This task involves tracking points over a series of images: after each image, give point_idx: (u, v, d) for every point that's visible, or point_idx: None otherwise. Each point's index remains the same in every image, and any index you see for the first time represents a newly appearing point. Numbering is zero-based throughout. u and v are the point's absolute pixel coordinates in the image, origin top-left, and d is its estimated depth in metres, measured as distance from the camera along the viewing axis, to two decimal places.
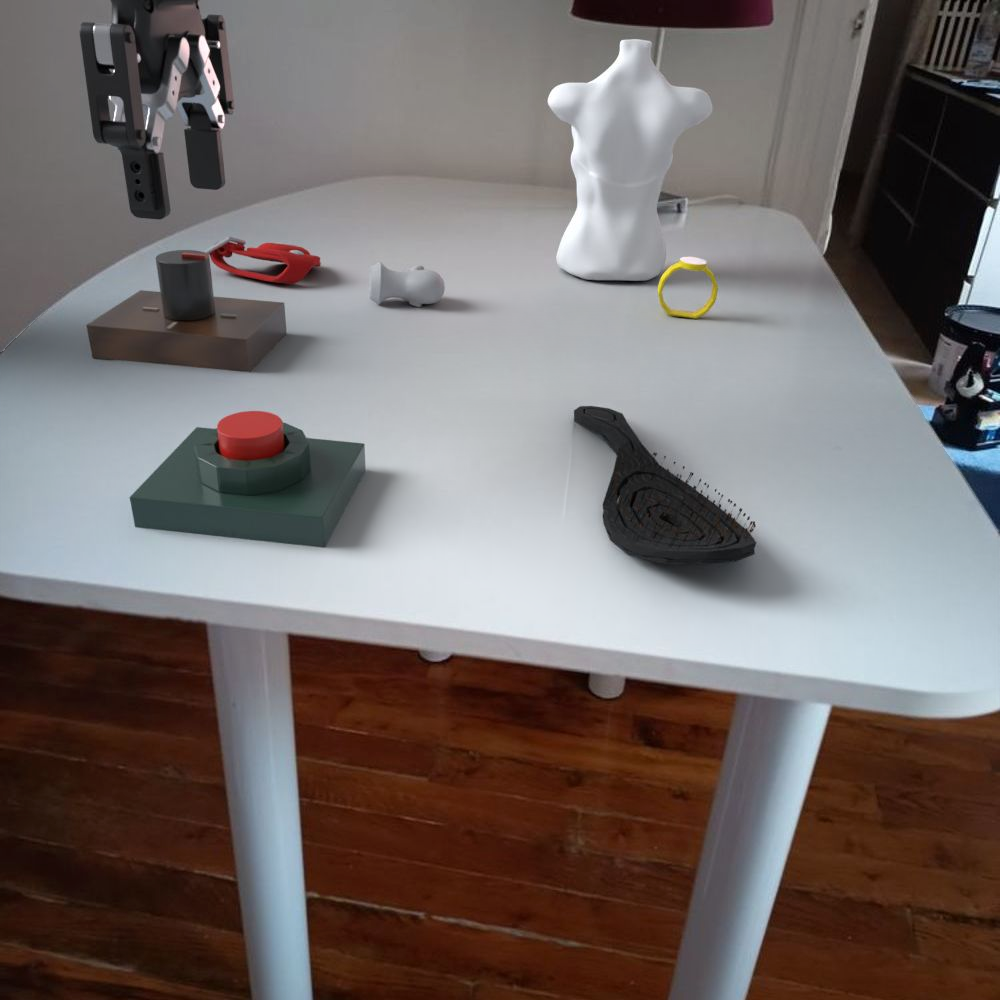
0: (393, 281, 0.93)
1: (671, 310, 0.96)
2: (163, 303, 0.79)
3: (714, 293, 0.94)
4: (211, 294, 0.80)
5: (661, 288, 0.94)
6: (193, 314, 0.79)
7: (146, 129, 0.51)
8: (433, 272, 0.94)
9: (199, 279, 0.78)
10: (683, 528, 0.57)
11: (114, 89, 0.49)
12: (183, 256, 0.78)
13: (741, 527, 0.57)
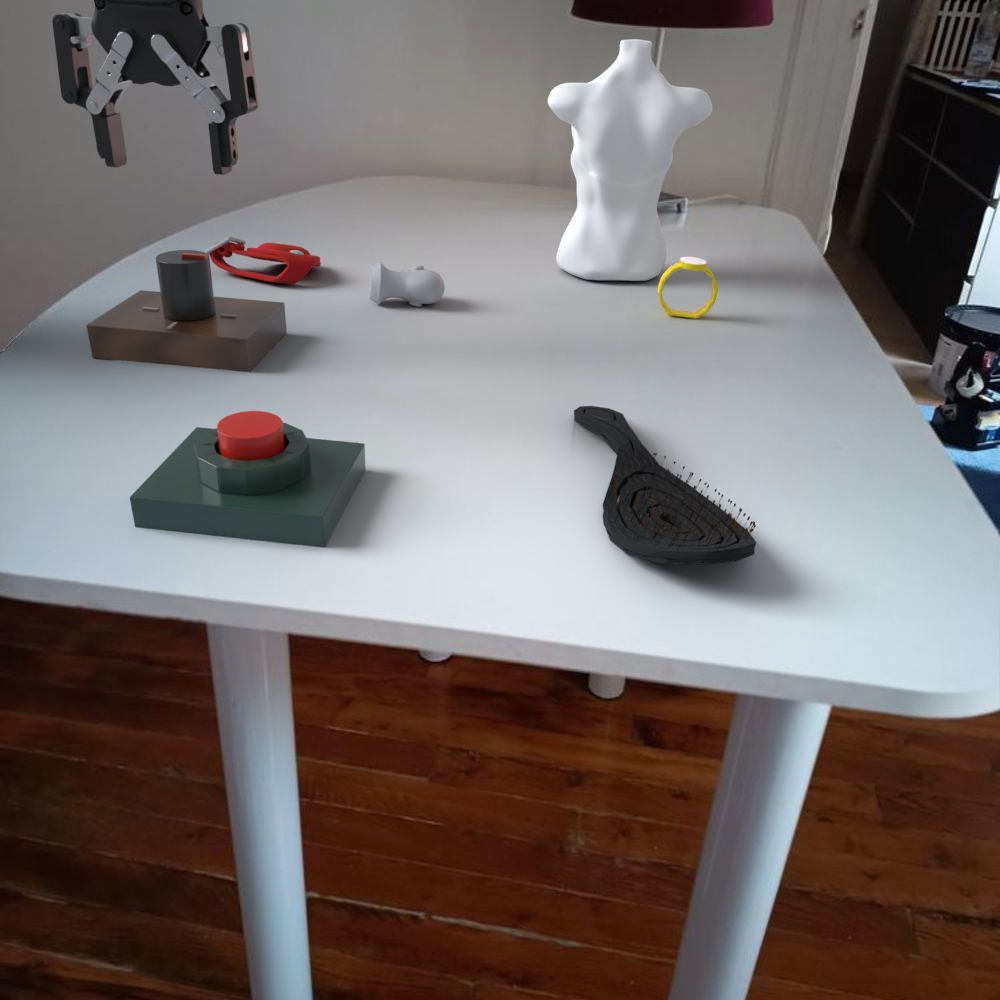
0: (393, 281, 0.93)
1: (671, 310, 0.96)
2: (163, 303, 0.79)
3: (714, 293, 0.94)
4: (211, 294, 0.80)
5: (661, 288, 0.94)
6: (193, 314, 0.79)
7: None
8: (433, 272, 0.94)
9: (199, 279, 0.78)
10: (683, 528, 0.57)
11: None
12: (183, 256, 0.78)
13: (741, 527, 0.57)
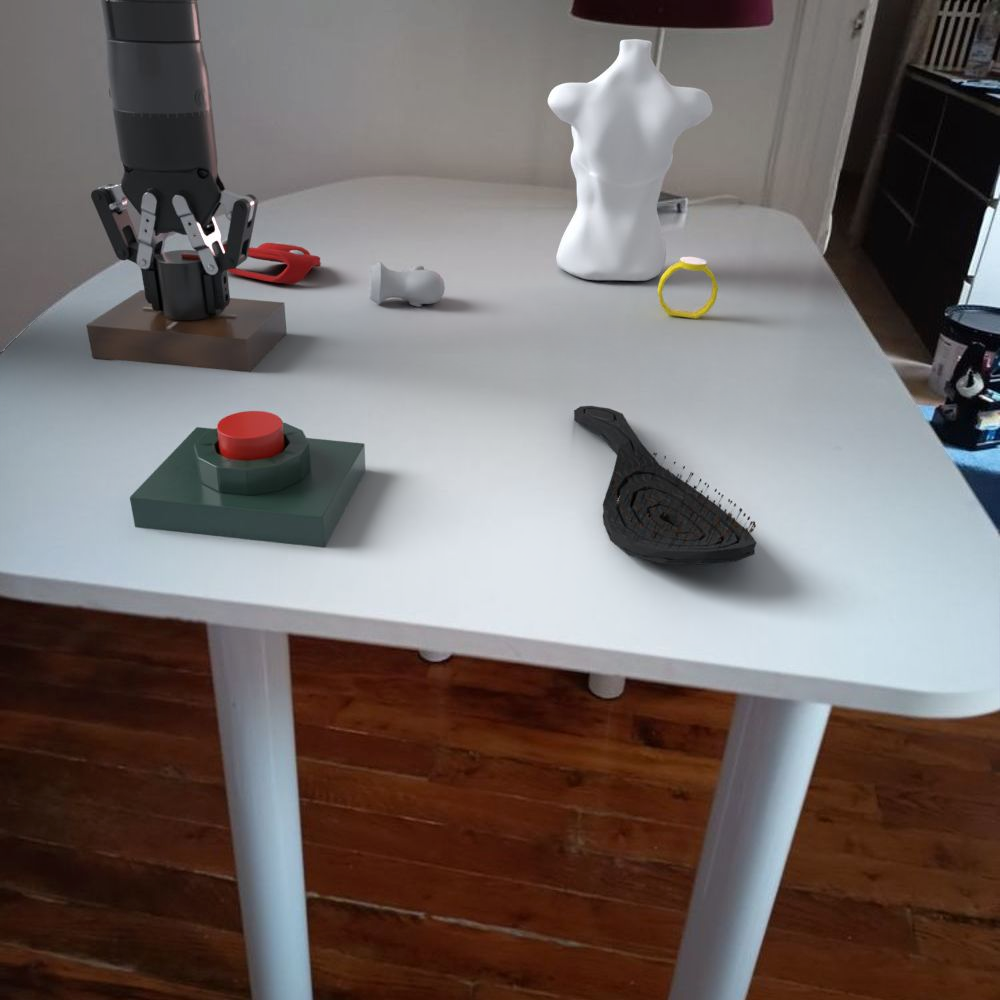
0: (393, 281, 0.93)
1: (671, 310, 0.96)
2: (163, 303, 0.79)
3: (714, 293, 0.94)
4: None
5: (661, 288, 0.94)
6: (193, 314, 0.79)
7: None
8: (433, 272, 0.94)
9: (199, 279, 0.78)
10: (683, 528, 0.57)
11: None
12: (183, 256, 0.78)
13: (741, 527, 0.57)
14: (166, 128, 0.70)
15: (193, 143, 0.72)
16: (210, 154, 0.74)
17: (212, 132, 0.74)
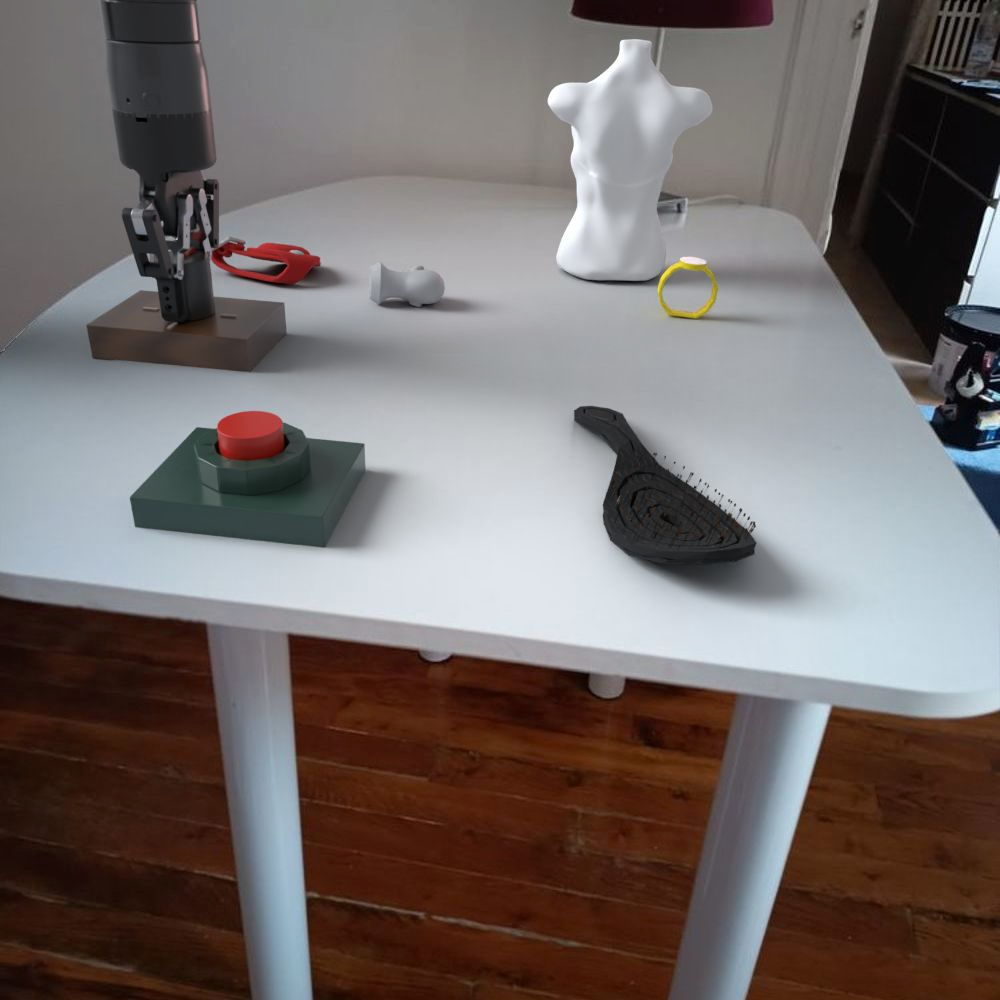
0: (393, 281, 0.93)
1: (671, 310, 0.96)
2: (197, 306, 0.79)
3: (714, 293, 0.94)
4: None
5: (661, 288, 0.94)
6: (214, 304, 0.82)
7: None
8: (433, 272, 0.94)
9: None
10: (683, 528, 0.57)
11: (150, 250, 0.72)
12: (186, 255, 0.79)
13: (741, 527, 0.57)
14: None
15: None
16: None
17: None
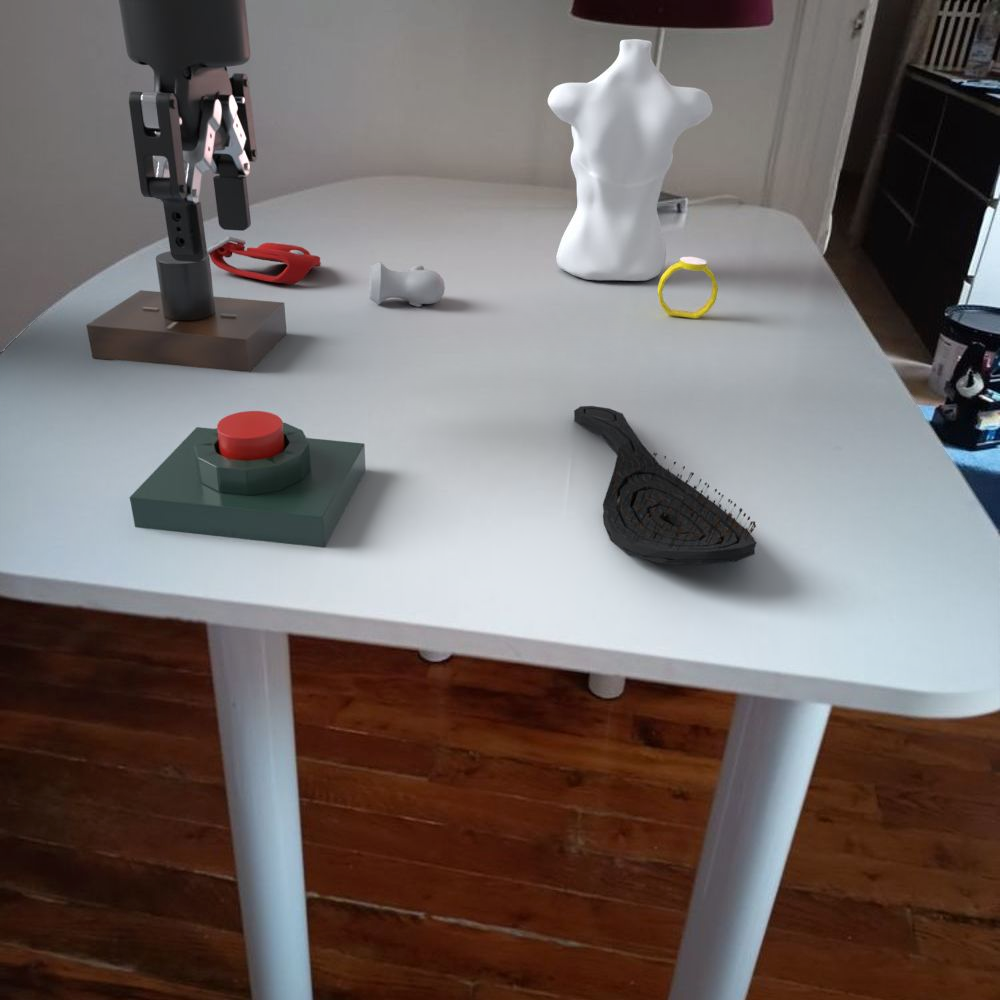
0: (393, 281, 0.93)
1: (671, 310, 0.96)
2: (197, 306, 0.79)
3: (714, 293, 0.94)
4: None
5: (661, 288, 0.94)
6: (214, 304, 0.82)
7: (186, 182, 0.57)
8: (433, 272, 0.94)
9: None
10: (683, 528, 0.57)
11: (160, 150, 0.54)
12: None
13: (741, 527, 0.57)
14: None
15: None
16: None
17: None
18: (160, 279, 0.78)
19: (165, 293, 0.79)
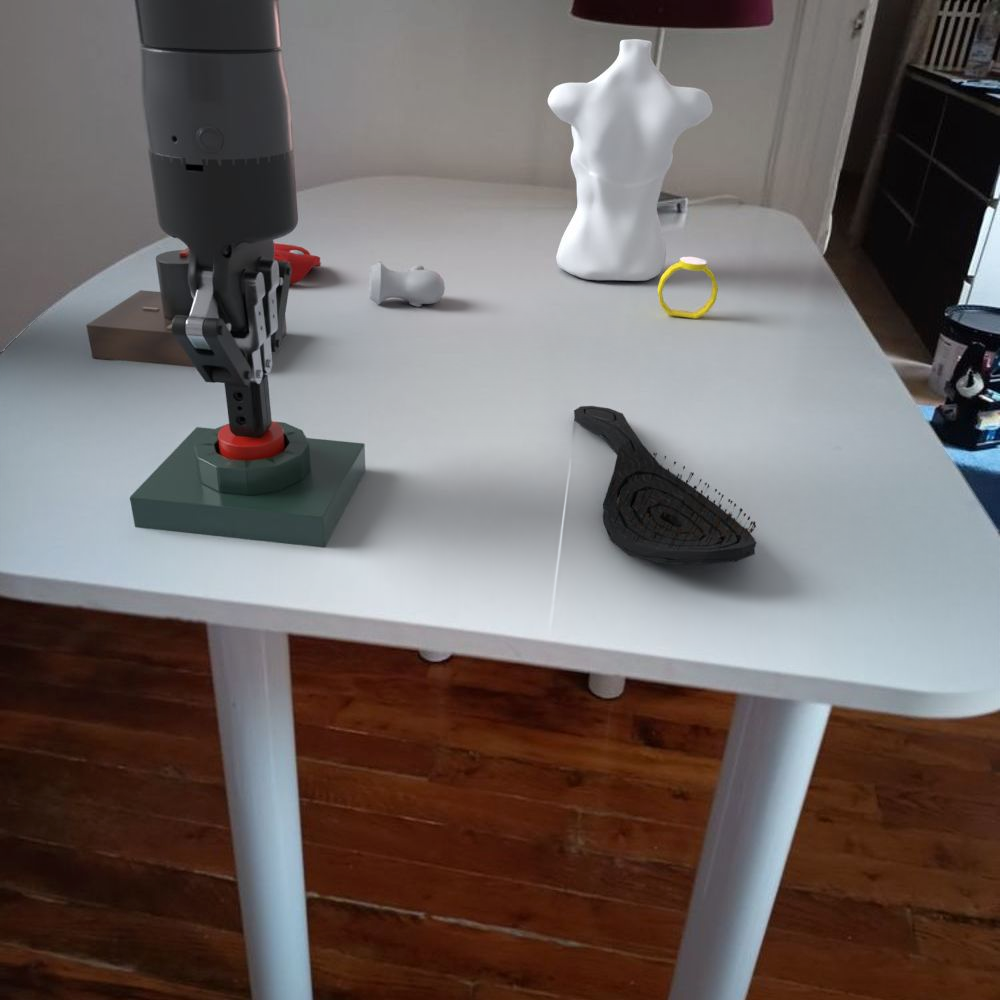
0: (393, 281, 0.93)
1: (671, 310, 0.96)
2: None
3: (714, 293, 0.94)
4: None
5: (661, 288, 0.94)
6: None
7: None
8: (433, 272, 0.94)
9: None
10: (683, 528, 0.57)
11: (217, 363, 0.50)
12: (186, 255, 0.79)
13: (741, 527, 0.57)
14: None
15: None
16: None
17: None
18: (160, 279, 0.78)
19: (165, 293, 0.79)
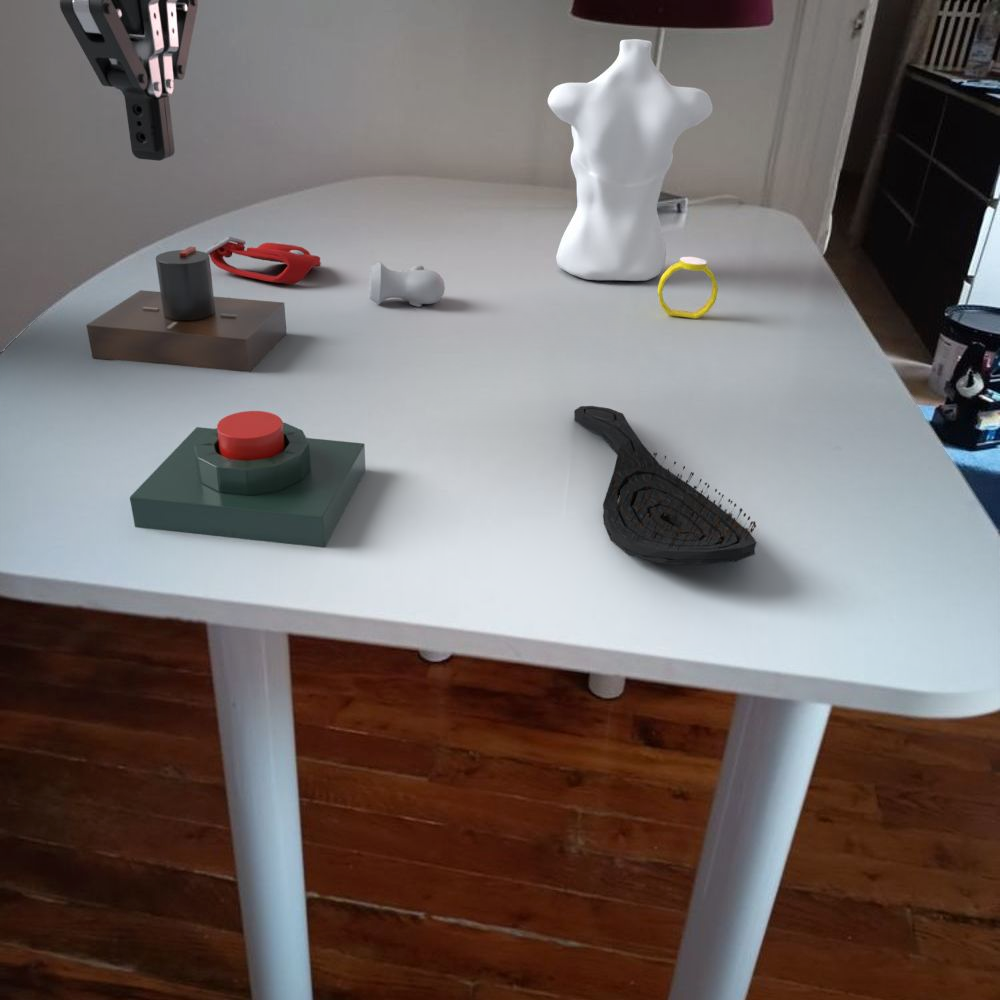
0: (393, 281, 0.93)
1: (671, 310, 0.96)
2: (197, 306, 0.79)
3: (714, 293, 0.94)
4: None
5: (661, 288, 0.94)
6: (214, 304, 0.82)
7: None
8: (433, 272, 0.94)
9: None
10: (683, 528, 0.57)
11: (109, 53, 0.52)
12: (186, 255, 0.79)
13: (741, 527, 0.57)
14: None
15: None
16: None
17: None
18: (160, 279, 0.78)
19: (165, 293, 0.79)
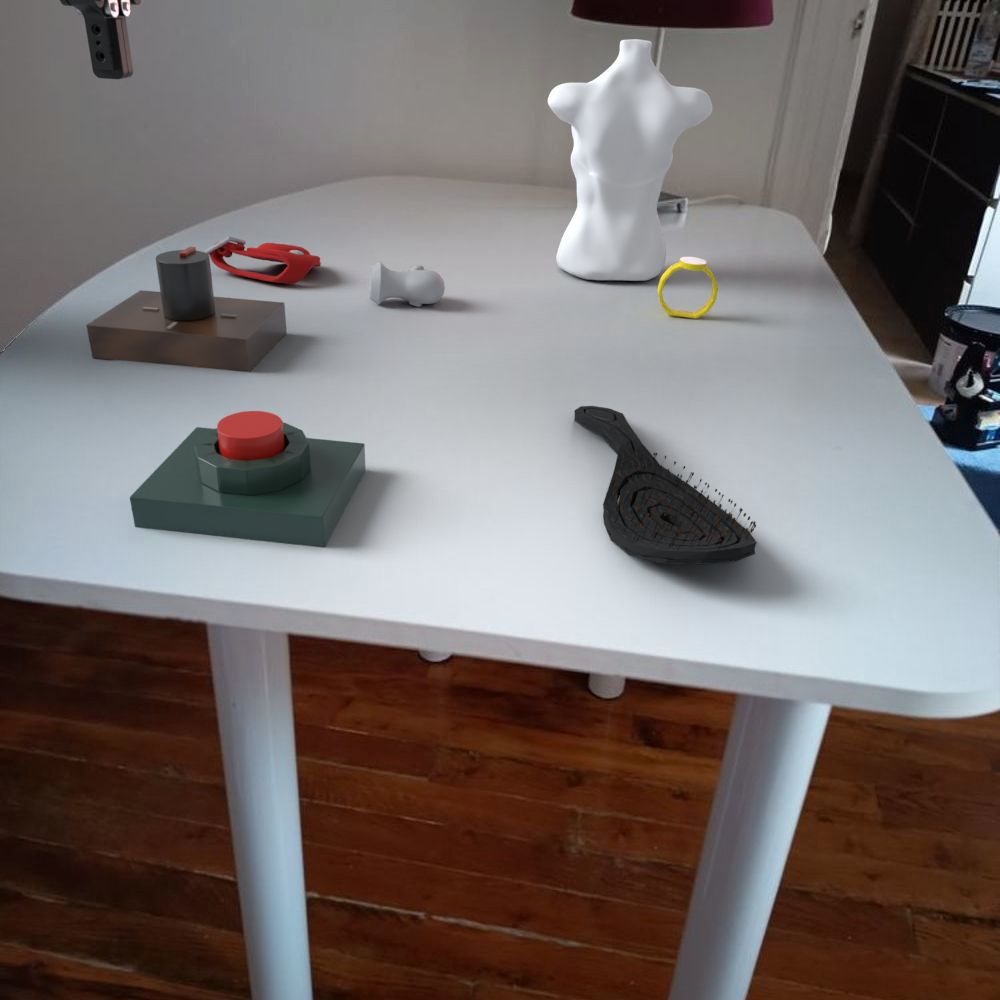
0: (393, 281, 0.93)
1: (671, 310, 0.96)
2: (197, 306, 0.79)
3: (714, 293, 0.94)
4: None
5: (661, 288, 0.94)
6: (214, 304, 0.82)
7: None
8: (433, 272, 0.94)
9: None
10: (683, 528, 0.57)
11: None
12: (186, 255, 0.79)
13: (741, 527, 0.57)
14: None
15: None
16: None
17: None
18: (160, 279, 0.78)
19: (165, 293, 0.79)
